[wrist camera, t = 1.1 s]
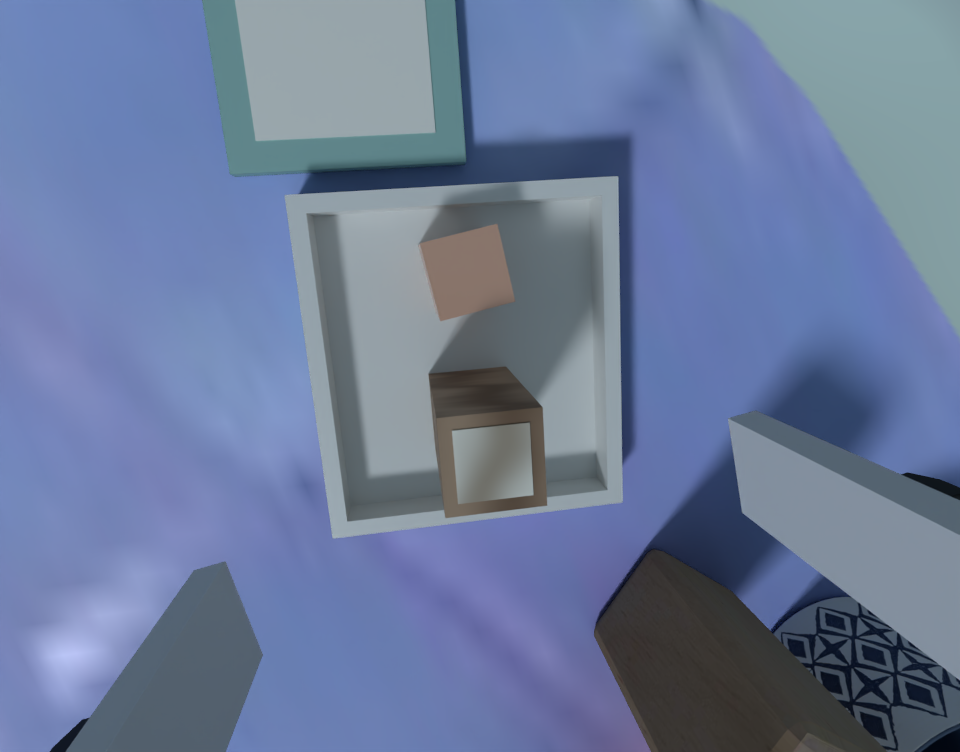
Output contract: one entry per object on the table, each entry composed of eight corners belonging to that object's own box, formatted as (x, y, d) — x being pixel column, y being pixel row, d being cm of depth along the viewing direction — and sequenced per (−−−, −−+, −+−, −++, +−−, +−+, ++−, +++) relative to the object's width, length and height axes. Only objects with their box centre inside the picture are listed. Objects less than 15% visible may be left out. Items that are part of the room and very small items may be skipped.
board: (235, 176, 38) (229, 173, 37) (193, -91, 35) (185, -104, 33) (464, 164, 40) (466, 161, 39) (446, -92, 36) (447, -104, 35)
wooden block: (586, 629, 49) (701, 870, 30) (650, 540, 48) (812, 730, 29) (670, 673, 52) (828, 923, 32) (733, 589, 50) (935, 795, 31)
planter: (792, 575, 51) (937, 694, 37) (926, 613, 54) (1106, 737, 40) (723, 717, 54) (834, 879, 40) (854, 746, 57) (1001, 906, 43)
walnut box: (435, 448, 43) (445, 518, 31) (428, 373, 42) (436, 418, 30) (510, 439, 44) (547, 506, 32) (505, 366, 42) (542, 407, 31)
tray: (338, 516, 44) (332, 538, 41) (295, 200, 39) (284, 194, 35) (607, 484, 47) (622, 502, 43) (600, 182, 41) (618, 175, 38)
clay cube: (435, 312, 41) (440, 321, 35) (418, 245, 40) (419, 243, 34) (500, 295, 41) (515, 301, 35) (484, 228, 40) (497, 223, 34)
